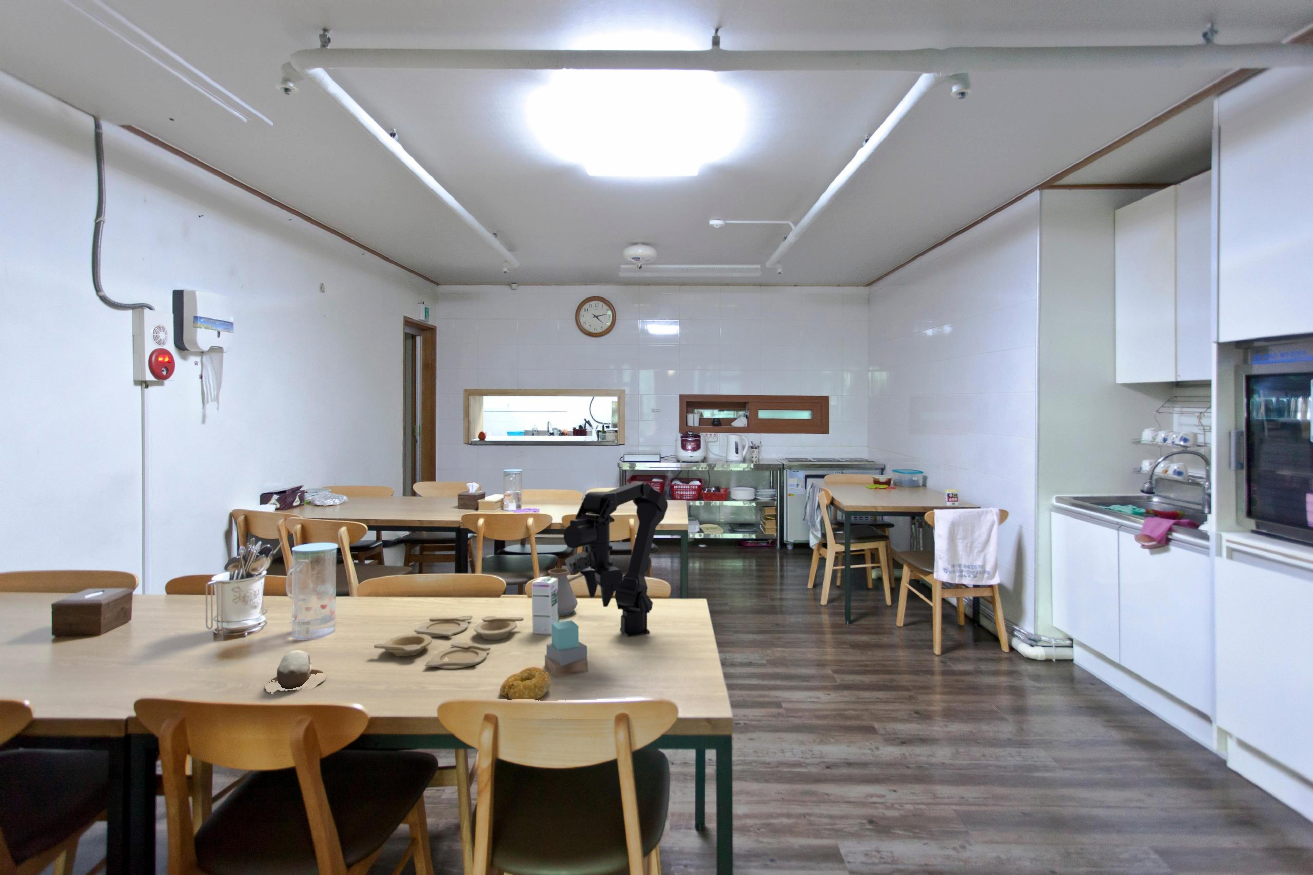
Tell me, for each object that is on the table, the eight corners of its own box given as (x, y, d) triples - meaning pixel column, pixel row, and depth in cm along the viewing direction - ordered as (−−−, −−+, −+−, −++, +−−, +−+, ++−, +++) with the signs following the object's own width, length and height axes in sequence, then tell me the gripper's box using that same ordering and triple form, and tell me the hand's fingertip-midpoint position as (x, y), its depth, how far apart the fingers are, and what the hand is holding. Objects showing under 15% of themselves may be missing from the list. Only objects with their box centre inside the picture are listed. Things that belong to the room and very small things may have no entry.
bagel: (507, 682, 143) (507, 662, 142) (555, 684, 142) (555, 664, 142) (493, 703, 133) (493, 681, 132) (544, 705, 132) (544, 683, 132)
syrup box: (551, 634, 173) (551, 582, 173) (531, 633, 174) (531, 581, 174) (559, 628, 179) (558, 577, 178) (539, 626, 180) (539, 576, 179)
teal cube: (571, 640, 154) (571, 619, 154) (578, 646, 149) (578, 625, 149) (551, 643, 151) (551, 622, 151) (558, 650, 147) (558, 629, 147)
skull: (267, 672, 146) (301, 636, 148) (305, 697, 148) (337, 662, 150) (251, 692, 134) (287, 653, 136) (292, 719, 136) (327, 680, 138)
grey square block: (571, 649, 155) (571, 637, 155) (587, 658, 150) (586, 645, 150) (546, 656, 151) (546, 644, 151) (561, 665, 146) (561, 652, 146)
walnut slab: (576, 661, 156) (576, 649, 156) (587, 672, 149) (587, 660, 149) (544, 666, 152) (544, 654, 152) (554, 679, 145) (554, 666, 145)
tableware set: (438, 619, 187) (437, 606, 187) (530, 626, 181) (530, 612, 181) (358, 665, 153) (358, 649, 153) (469, 676, 147) (469, 659, 147)
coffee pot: (537, 618, 187) (537, 568, 186) (542, 606, 198) (542, 559, 198) (609, 617, 188) (609, 567, 187) (610, 605, 199) (610, 558, 199)
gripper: (556, 537, 166) (557, 596, 167) (581, 551, 149) (581, 616, 150) (596, 534, 171) (596, 591, 172) (624, 547, 154) (624, 610, 155)
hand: (598, 601), depth 162 cm, fingers open, 9 cm apart
